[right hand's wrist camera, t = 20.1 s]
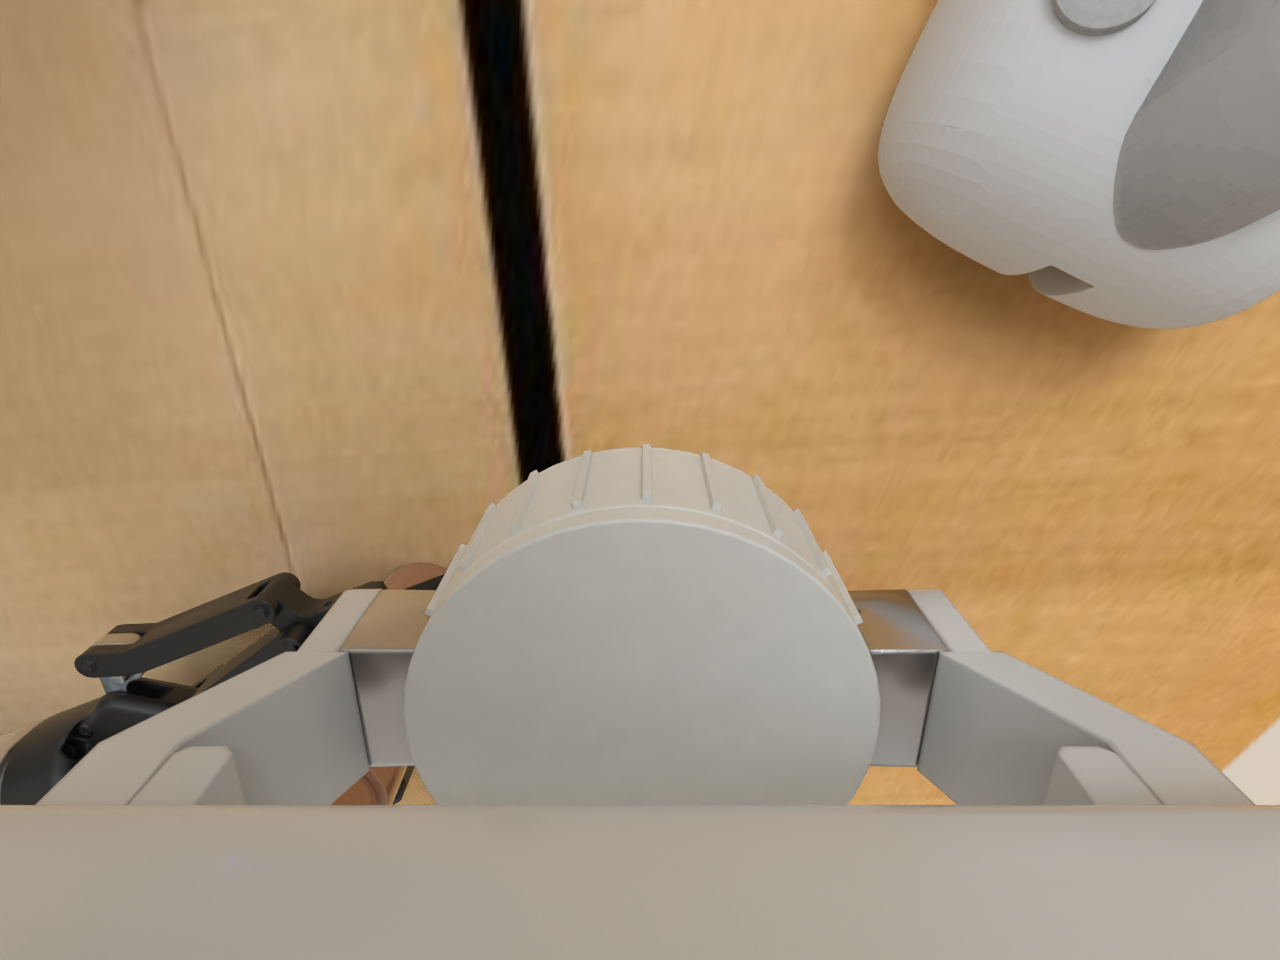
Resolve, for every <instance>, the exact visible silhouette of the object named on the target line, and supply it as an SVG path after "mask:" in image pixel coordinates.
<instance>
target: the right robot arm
mask: <svg viewBox="0 0 1280 960" xmlns="http://www.w3.org/2000/svg"><path fill="white" fill-rule="evenodd" d="M435 592H436V590H395V589H385V590H383V589H351V590H346V591H344V592H343V593H342V595H341V596H340V597H339V598H338V600H337V601H336V602H335V604H334V605H333V606H332V607H331V609H330V610H329V611H328V612H327V614H326V615H325V616H324V617H323V619H322V620H321V621H320V623H319V624H318V625H317V626H316V628H315V629H314V630H313V631H312V633H311V634H310V635H309V637H308V638H307V639H306V640H305V642H304V643H303V644H302V645H301V647H300V648H299V649H298V651H297V652H284V653H282V654H280V655H278V656H276V657H274V658H272V659H270V660H267V661H265V662H263V663H261V664H259V665H257V666H255V667H253V668H251V669H249V670H247V671H245V672H243V673H241V674H239V675H237V676H235V677H233V678H231V679H229V680H226V681H224V682H222V683H220V684H218V685H216V686H214V687H212V688H210V689H208V690H206V691H204V692H202V693H200V694H198V695H196V696H194V697H192V698H190V699H188V700H185V701H183V702H181V703H179V704H177V705H175V706H173V707H171V708H169V709H167V710H165V711H163V712H161V713H159V714H157V715H155V716H153V717H151V718H149V719H146V720H144V721H142V722H140V723H138V724H136V725H134V726H132V727H130V728H128V729H126V730H124V731H122V732H120V733H118V734H116V735H114V736H112V737H110V738H108V739H105V740H103V741H101V742H99V743H98V744H97V745H96V746H95V747H94V748H93V749H92V750H91V751H90V752H89V753H88V754H87V755H86V756H85V757H84V758H83V759H82V760H81V761H80V762H78V763H77V764H76V765H75V766H74V767H73V768H72V769H71V770H70V771H69V772H68V773H67V774H66V775H65V776H64V777H63V778H62V779H61V780H60V781H59V782H58V783H57V784H56V785H55V786H54V787H53V788H52V789H51V790H50V791H49V792H48V793H47V794H46V795H45V796H44V797H43V798H42V799H41V800H40V801H39V802H38V803H37V804H36V805H0V960H1280V805H1255V804H1254V803H1253V802H1252V801H1251V800H1250V799H1249V798H1248V797H1247V796H1246V795H1245V794H1244V793H1243V792H1242V791H1241V790H1240V789H1239V788H1238V787H1237V786H1236V785H1235V784H1234V783H1233V782H1231V781H1230V780H1229V779H1228V778H1227V777H1226V776H1225V775H1224V774H1223V773H1222V772H1221V771H1220V770H1219V769H1218V768H1217V767H1216V766H1215V765H1214V764H1213V763H1212V762H1211V761H1210V760H1209V759H1208V758H1207V757H1206V756H1205V755H1204V754H1203V753H1202V752H1200V751H1199V750H1198V749H1197V748H1196V747H1195V746H1194V745H1193V744H1192V743H1190V742H1188V741H1186V740H1183V739H1181V738H1179V737H1177V736H1175V735H1173V734H1171V733H1169V732H1167V731H1165V730H1163V729H1161V728H1159V727H1157V726H1155V725H1153V724H1150V723H1148V722H1146V721H1144V720H1142V719H1140V718H1138V717H1136V716H1134V715H1132V714H1130V713H1128V712H1126V711H1124V710H1122V709H1120V708H1117V707H1115V706H1113V705H1111V704H1109V703H1107V702H1105V701H1103V700H1101V699H1099V698H1097V697H1095V696H1093V695H1091V694H1089V693H1086V692H1084V691H1082V690H1080V689H1078V688H1076V687H1074V686H1072V685H1070V684H1068V683H1066V682H1064V681H1062V680H1060V679H1058V678H1056V677H1053V676H1051V675H1049V674H1047V673H1045V672H1043V671H1041V670H1039V669H1037V668H1035V667H1033V666H1031V665H1029V664H1027V663H1025V662H1022V661H1020V660H1018V659H1016V658H1014V657H1012V656H1010V655H1008V654H1006V653H1004V652H991V651H990V650H989V648H988V647H987V646H986V645H985V644H984V642H983V641H982V640H981V639H980V637H979V636H978V635H977V634H976V632H975V631H974V630H973V629H972V627H971V626H970V625H969V624H968V622H967V621H966V620H965V619H964V618H963V616H962V615H961V614H960V613H959V611H958V610H957V609H956V608H955V606H954V605H953V604H952V603H951V601H950V600H949V599H948V598H947V596H946V595H945V594H944V593H943V592H942V591H940V590H938V589H911V590H864V591H848V593H849V595H850V597H851V599H852V601H853V603H854V605H855V606H856V608H857V610H858V612H859V614H860V616H861V618H862V621H863V623H861V624H858V625H857V626H858V628H859V630H860V632H861V634H862V636H863V638H864V640H865V642H866V644H867V646H868V648H869V651H870V654H871V657H872V661H873V664H874V667H875V670H876V673H877V679H878V687H879V694H880V725H879V731H878V736H877V741H876V746H875V751H874V754H873V756H872V759H871V762H870V765H869V766H898V767H918V768H917V770H918V771H919V772H920V773H921V774H923V775H924V776H925V777H926V778H927V779H928V780H929V781H931V782H932V783H933V784H934V785H935V786H936V787H937V788H939V789H940V790H941V791H942V792H943V793H944V794H946V795H947V796H948V797H949V798H950V799H951V800H952V801H954V802H955V803H956V804H957V805H331V804H332V803H333V802H334V801H335V800H337V799H338V798H339V797H340V796H341V795H342V794H343V793H345V792H346V791H347V790H348V789H349V788H350V787H351V786H353V785H354V784H355V783H356V782H357V781H358V780H359V779H360V778H362V777H363V776H364V775H365V774H366V773H367V772H368V771H370V769H369V767H389V766H415V765H414V762H413V759H412V755H411V752H410V749H409V745H408V742H407V736H406V729H405V721H404V688H405V683H406V678H407V673H408V668H409V664H410V661H411V658H412V656H413V653H414V651H415V648H416V645H417V643H418V640H419V638H420V636H421V634H422V632H423V630H424V628H425V626H426V624H427V623H428V620H429V618H430V616H428V615H426V614H424V613H425V611H426V609H427V607H428V605H429V603H430V601H431V599H432V598H433V596H434V594H435Z"/></svg>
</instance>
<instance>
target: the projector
mask: <svg viewBox="0 0 1280 960" xmlns="http://www.w3.org/2000/svg"><path fill="white" fill-rule="evenodd" d="M878 166H879V171H880V175H881V178H882V181H883V184H884V186H885V188H886V190H887V192H888V194H889V195H890V197H891V198H892V200H893V201H894V203H895V204H896V205H897V206H898V207H899V208H900V209H901V210H902V211H903V212H904V213H905V214H906V215H907V216H908V217H909V218H910V219H911V220H912V221H914V222H915V223H916V224H917V225H918V226H920V227H921V228H923V229H924V230H925V231H927V232H928V233H929V234H931V235H932V236H933V237H935V238H936V239H938V240H940V241H941V242H943V243H944V244H946V245H948V246H949V247H951V248H953V249H954V250H956V251H958V252H960V253H961V254H963V255H965V256H967V257H969V258H971V259H972V260H974V261H976V262H978V263H980V264H982V265H984V266H986V267H988V268H990V269H992V270H994V271H996V272H998V273H1000V274H1004V275H1020V274H1026V273H1028V278H1029V281H1030V283H1031V285H1032V287H1033V288H1034V289H1035V290H1036V291H1038V292H1039V293H1041V294H1043V295H1045V296H1048V297H1050V298H1052V299H1054V300H1056V301H1058V302H1060V303H1063V304H1065V305H1067V306H1070V307H1072V308H1074V309H1077V310H1079V311H1082V312H1084V313H1087V314H1090V315H1092V316H1095V317H1098V318H1101V319H1105V320H1108V321H1111V322H1115V323H1119V324H1124V325H1129V326H1134V327H1141V328H1150V329H1175V328H1186V327H1192V326H1197V325H1203V324H1207V323H1211V322H1214V321H1217V320H1221V319H1224V318H1227V317H1230V316H1232V315H1235V314H1237V313H1239V312H1242V311H1244V310H1246V309H1249V308H1250V307H1252V306H1254V305H1256V304H1257V303H1259V302H1261V301H1263V300H1264V299H1266V298H1268V297H1270V296H1272V295H1273V294H1275V293H1276V292H1278V291H1279V290H1280V0H938V2H937V4H936V6H935V8H934V10H933V12H932V13H931V15H930V17H929V19H928V21H927V23H926V25H925V27H924V29H923V31H922V33H921V35H920V37H919V39H918V41H917V43H916V45H915V47H914V50H913V52H912V54H911V56H910V58H909V61H908V63H907V65H906V67H905V69H904V71H903V74H902V76H901V78H900V80H899V83H898V85H897V88H896V90H895V93H894V95H893V98H892V100H891V103H890V105H889V108H888V111H887V114H886V118H885V121H884V124H883V127H882V130H881V136H880V141H879V146H878Z"/></svg>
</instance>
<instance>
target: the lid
mask: <svg viewBox="0 0 1280 960" xmlns="http://www.w3.org/2000/svg"><path fill="white" fill-rule="evenodd" d="M424 614H426V615H428V616H430V618H429V620H428V623H427V624H426V626H425V628H424V630H423V632H422V634H421V636H420V638H419V640H418V643H417V645H416V648H415V651H414V653H413V656H412V658H411V661H410V664H409V668H408V673H407V678H406V683H405V688H404V721H405V729H406V736H407V742H408V745H409V749H410V752H411V755H412V759H413V762H414V765H415V767H416V769H417V771H418V773H419V775H420V777H421V779H422V782H423V784H424V786H425V787H426V789H427V790H428V792H429V793H430V795H431V796H432V798H433V799H434V801H435V802H436V804H437V805H848V803H849V802H850V801H851V799H852V798H853V796H854V795H855V793H856V791H857V790H858V788H859V786H860V784H861V782H862V780H863V779H864V777H865V775H866V773H867V770H868V767H869V765H870V762H871V759H872V756H873V754H874V751H875V746H876V741H877V736H878V731H879V725H880V694H879V687H878V679H877V673H876V670H875V667H874V664H873V661H872V657H871V654H870V651H869V648H868V646H867V644H866V642H865V640H864V638H863V636H862V634H861V632H860V630H859V628H858V626H857V625H858V624H861V623H863V621H862V618H861V616H860V614H859V612H858V610H857V608H856V606H855V605H854V603H853V601H852V599H851V597H850V595H849V593H848V591H847V589H846V587H845V585H844V583H843V581H842V579H841V578H840V576H839V574H838V572H837V570H836V568H835V566H834V564H833V562H832V560H831V558H830V556H829V554H828V553H827V551H824V552H822V551H821V549H820V548H819V546H818V544H817V542H816V540H815V538H814V536H813V534H812V532H811V530H810V528H809V526H808V524H807V522H806V520H805V518H804V516H803V514H802V512H801V511H800V510H799V509H796V510H795V511H793V510H792V509H791V508H790V507H789V506H788V505H787V504H786V503H785V502H784V501H783V500H782V499H781V498H780V497H779V496H777V495H776V494H775V493H774V492H772V491H771V490H770V489H769V488H767V487H766V486H765V485H764V483H763V481H762V478H761V477H759V476H757V475H754V477H753V478H752V477H751V476H749V475H747V474H745V473H744V472H742V471H740V470H739V469H736V468H734V467H731V466H729V465H727V464H724V463H722V462H720V461H717V460H715V459H712V458H710V455H709V454H708V453H704V452H702V453H701V455H697V454H694V453H690V452H685V451H678V450H672V449H665V448H651V444H643V445H642V447H631V448H621V449H611V450H604V451H599V452H595V453H592V451H591V450H587V451H584V452H583V455H582V456H578V457H575V458H573V459H570V460H567V461H564V462H562V463H559V464H556V465H554V466H552V467H550V468H548V469H546V470H544V471H542V472H540V473H538V471H537V470H535V471H533V472H531V473H530V475H529V477H528V480H526V481H525V482H524V483H522V484H521V485H519V486H518V487H517V488H515V489H514V490H512V491H511V492H510V493H508V494H507V495H506V496H505V497H504V498H503V499H502V500H501V501H500V502H499V503H498V504H497V505H495V504H494V503H493V502H492V503H491V504H490V505H489V506H488V507H487V509H486V511H485V513H484V515H483V517H482V518H481V520H480V522H479V524H478V526H477V528H476V530H475V532H474V534H473V536H472V537H471V539H470V541H469V543H468V544H467V545H464V544H462V543H461V545H460V546H459V548H458V550H457V552H456V554H455V556H454V558H453V560H452V562H451V563H450V565H449V567H448V569H447V571H446V573H445V575H444V577H443V579H442V580H441V582H440V584H439V586H438V588H437V590H436V592H435V594H434V596H433V598H432V599H431V601H430V603H429V605H428V607H427V609H426V611H425V613H424Z"/></svg>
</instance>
